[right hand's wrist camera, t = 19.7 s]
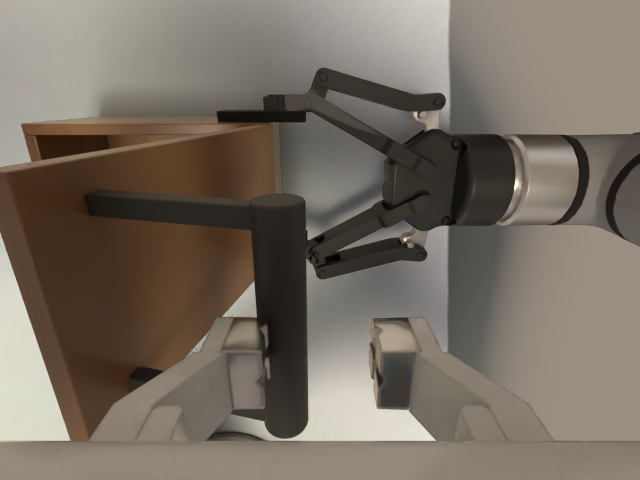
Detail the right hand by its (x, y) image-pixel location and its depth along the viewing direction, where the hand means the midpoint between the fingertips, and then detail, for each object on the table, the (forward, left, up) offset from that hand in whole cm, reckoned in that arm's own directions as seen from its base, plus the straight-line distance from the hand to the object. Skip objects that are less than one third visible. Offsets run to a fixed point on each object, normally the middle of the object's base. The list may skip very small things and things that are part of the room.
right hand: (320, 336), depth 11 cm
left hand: (-5, -5, -21) cm, 22 cm away
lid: (-4, -4, -9) cm, 11 cm away
